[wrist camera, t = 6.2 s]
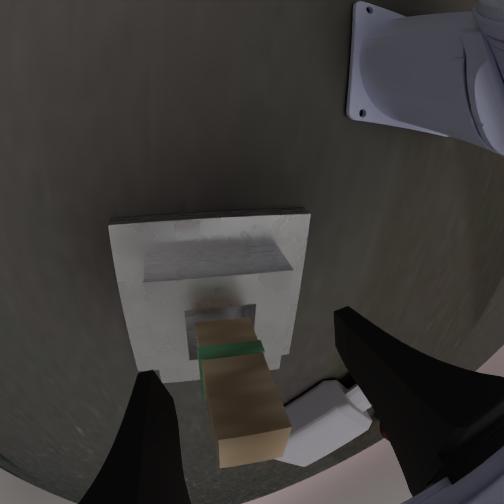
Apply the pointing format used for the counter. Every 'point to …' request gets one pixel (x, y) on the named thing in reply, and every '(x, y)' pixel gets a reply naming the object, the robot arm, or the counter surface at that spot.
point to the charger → (324, 421)
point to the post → (240, 393)
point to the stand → (207, 280)
